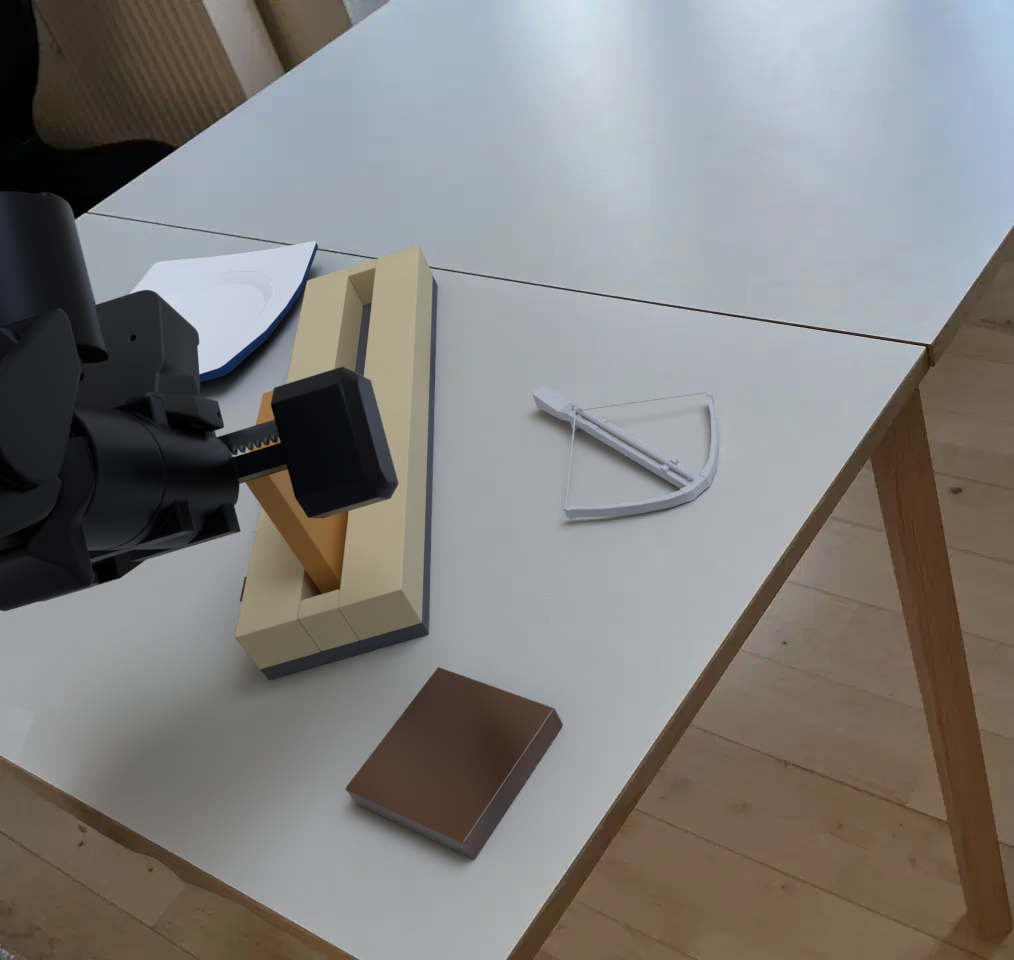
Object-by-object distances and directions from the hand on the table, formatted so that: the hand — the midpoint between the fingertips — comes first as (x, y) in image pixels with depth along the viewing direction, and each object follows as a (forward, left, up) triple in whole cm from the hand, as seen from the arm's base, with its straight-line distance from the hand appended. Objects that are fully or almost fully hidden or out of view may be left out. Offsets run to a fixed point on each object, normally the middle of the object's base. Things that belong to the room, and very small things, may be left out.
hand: (266, 493), depth 60 cm
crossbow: (+18, -9, -11) cm, 23 cm away
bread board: (-6, -13, -11) cm, 18 cm away
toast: (+3, +3, -10) cm, 11 cm away
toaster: (+13, +11, -11) cm, 20 cm away
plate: (+22, +39, -11) cm, 46 cm away
